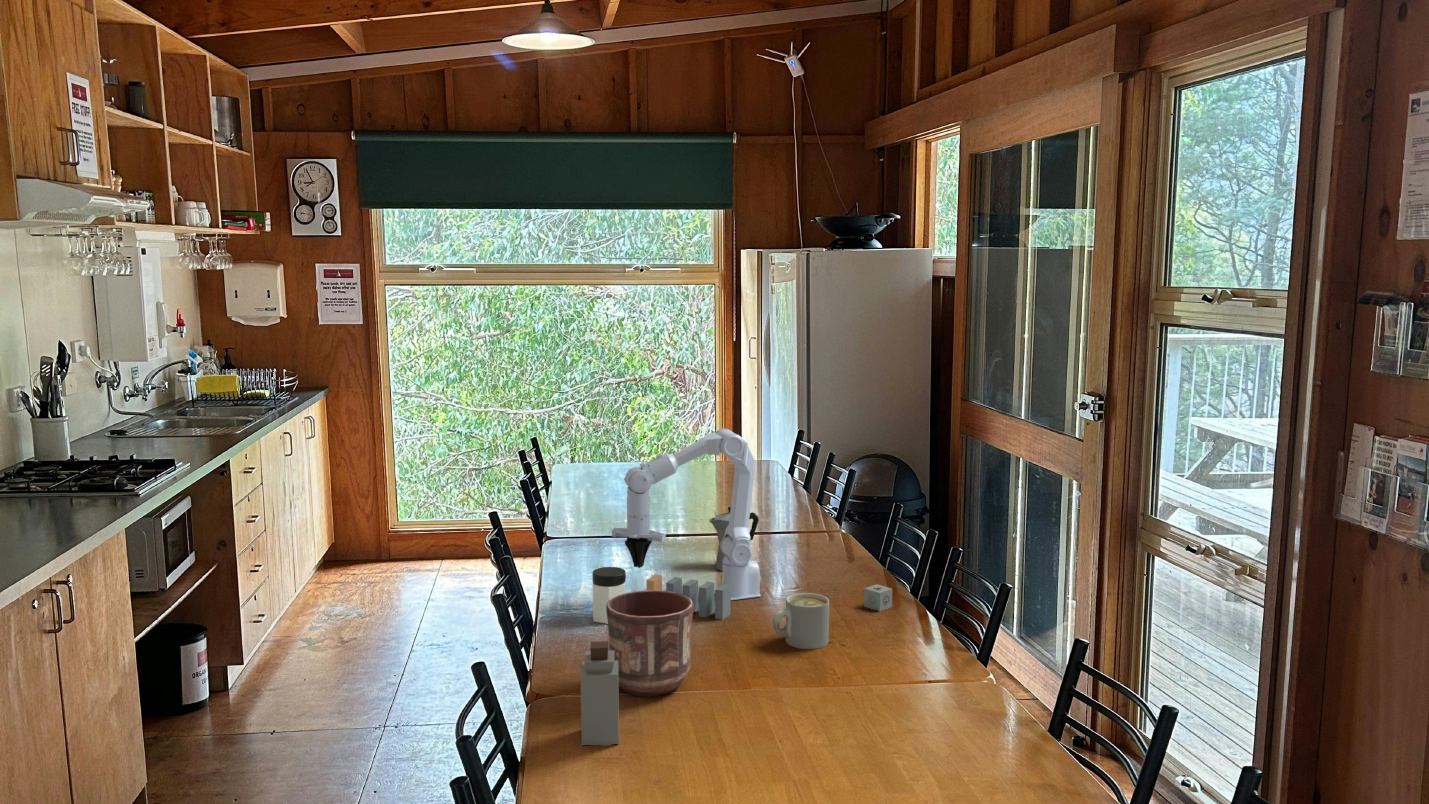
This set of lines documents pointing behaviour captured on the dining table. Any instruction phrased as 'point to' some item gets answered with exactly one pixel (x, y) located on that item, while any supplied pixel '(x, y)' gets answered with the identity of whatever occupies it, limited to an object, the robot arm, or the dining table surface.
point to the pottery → (650, 640)
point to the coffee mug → (804, 621)
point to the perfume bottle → (599, 696)
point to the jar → (606, 589)
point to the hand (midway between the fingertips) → (638, 566)
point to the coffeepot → (720, 525)
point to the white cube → (878, 597)
